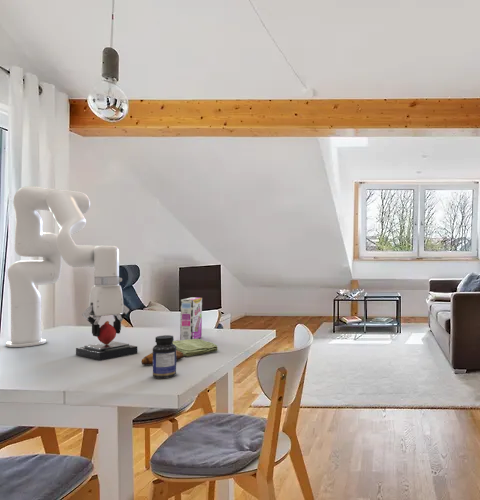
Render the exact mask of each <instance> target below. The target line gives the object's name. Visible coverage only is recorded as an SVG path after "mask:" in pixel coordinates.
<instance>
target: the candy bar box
mask: <svg viewBox="0 0 480 500" xmlns="http://www.w3.org/2000/svg"><path fill="white" fill-rule="evenodd" d="M202 322H203V297H197V296H196V297H188V298H183V299H180V326H179V328H180V332H179V341H180V340H188V339H201V338H202V334H203V332H202V331H203V329H202V327H203V323H202Z"/></svg>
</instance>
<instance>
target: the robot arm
mask: <svg viewBox="0 0 480 500" xmlns="http://www.w3.org/2000/svg"><path fill="white" fill-rule="evenodd" d="M12 202H13V211H14V214H15V215H14V216H15V229H14V230H15V231H14V251H15V254H16V255H18V256H19V257H22V258H23V257H24V258H42V260H39V259H35V260H34V259H29V260H27V259H26V260H25V259H24V260H18V261H15V262H13V263H11V264H10V265H9V267H8V269H7V278H8V283H9V288H10V306H11V307H10V341H7V342H6V343H5V347H9V348H25V347H34V346H41V345H43V344H46V343H47V339H46V338H42V294H41V293H40V291H39V290H38V288H37V287H36V286H43V285H44V286H47V285H53V284H56V283H57V282H59V280H60V278H61V275H62V268H63V267H62V265H63V261H64V262H65V263H66V264H67V265H68V266H70V267H72V268H88V267H89V268H93V277H94V278H93V285H92V286H91V287H90V291H89V297H88V306H87V308H86V309H85V310H84V311H83V312H82V314H81V315H82V317H83V318H84V319H86V321H88V322H89V324H90V325H91V334H92V336H93V337H99V336H100V327H101V325H100V324H99V322H100V319H101V318H102V317H104V316H107V317H108V316H112V317H113V319H114V321H112V326H113V327H114V328H115V330H116V334H118V335H119V334H121V330H122V322H123V321H124V319H125V317H126V315H127V314H128V313H129V312H130V308H129V307H128V306H126V304H124V296H123V290H122V286H121V285H120V283H121V282H123V278H122V277H120V249H119V247H118V246H116V245H99V244H98V245H97V244H77V243H76V242H75V241H74V239H73V237H72V235H75V234H77V233H79V232H80V231H82V230H83V229H84V228H85V227H86V225H87V219H86V217H85V214H87V213H88V212H89V210H90V209H91V200H90V198H89V196H88V194H86V193H85V192H83V191H78V190H71V189H64V188H63V189H62V188H61V189H60V188H50V187H44V186H34V185H29V186H22V187H20V188H18V189H17V190H16V192H15V193H14V196H13V201H12ZM39 211H47V212H51V214H52V216H53V218H54V219H55V221H56V224H57V225H58V227H59V228H60V229H59V231H58V233H57V234H56V233H54V232H44V231H43V228H44V220H43V218H42V216H41V214H40V213H39Z"/></svg>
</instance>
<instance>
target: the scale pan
mask: <svg viewBox="0 0 480 500" xmlns="http://www.w3.org/2000/svg"><path fill="white" fill-rule="evenodd" d="M129 345H130V344H129V343H127V342H120V341H116V340H112V341H111V342H110V343H109V344H108V345H105V344H104V343H102V342H98V343H93V344H85V345H83V347H84V348H87V349H92V350H96V351H105V350H107V349H113V348H118V347H124V346H129Z"/></svg>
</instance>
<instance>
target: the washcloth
mask: <svg viewBox="0 0 480 500" xmlns="http://www.w3.org/2000/svg"><path fill="white" fill-rule="evenodd" d="M173 344H174V345H175V346H176V350H177V351H180V352H182V353H183V355H184V356H183V357H192V356H198V355H203V354H208V353H213V352H218V350H219V349H218V348H219V347H218V345H217V344H215V343H214V342H212V341H206V340H204V339H201V338H199V339H188V340H180V339H179V340H173Z"/></svg>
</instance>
